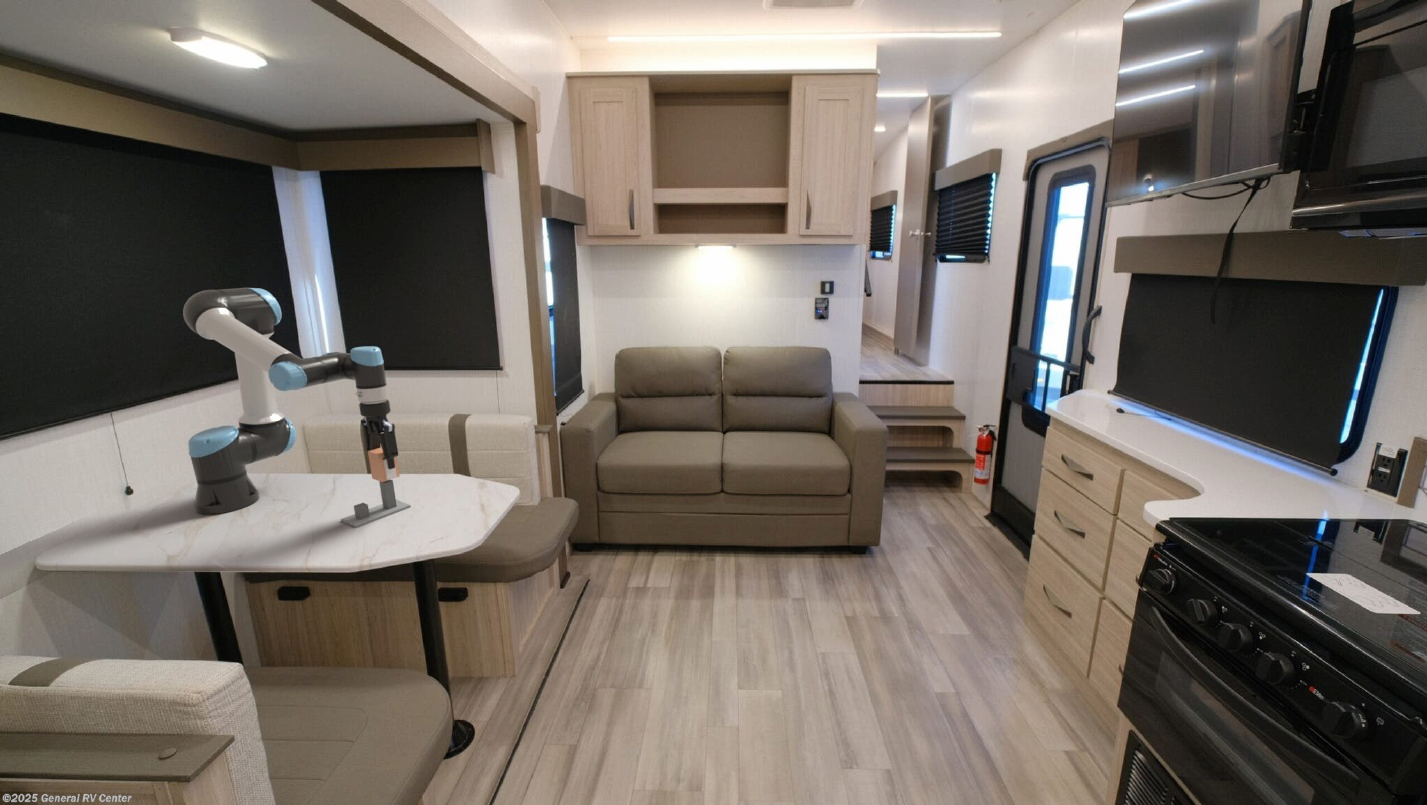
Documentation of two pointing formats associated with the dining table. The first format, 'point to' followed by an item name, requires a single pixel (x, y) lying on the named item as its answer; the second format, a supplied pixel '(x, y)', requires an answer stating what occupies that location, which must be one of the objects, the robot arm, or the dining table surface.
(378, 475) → the orange block
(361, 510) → the stand
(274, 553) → the dining table surface
